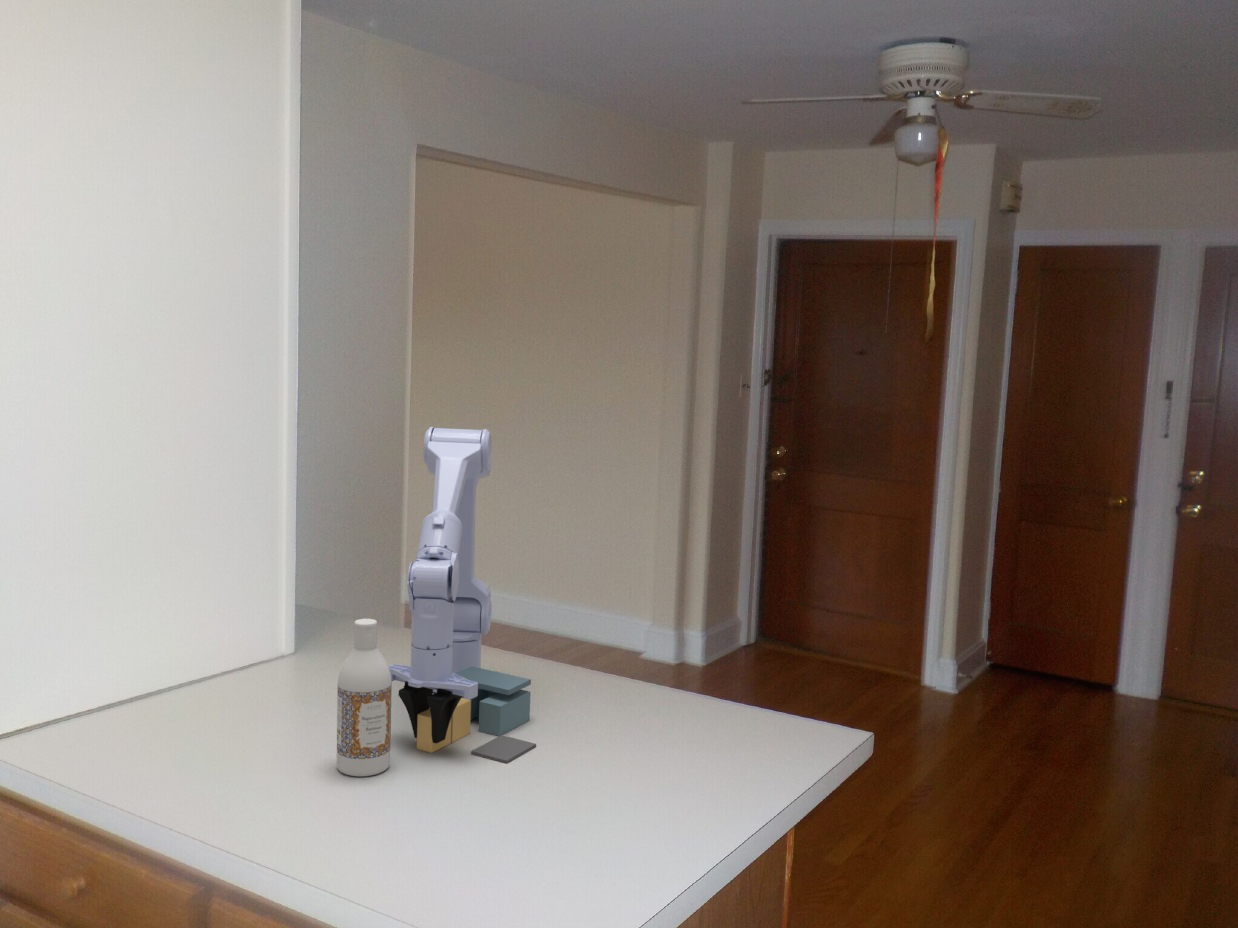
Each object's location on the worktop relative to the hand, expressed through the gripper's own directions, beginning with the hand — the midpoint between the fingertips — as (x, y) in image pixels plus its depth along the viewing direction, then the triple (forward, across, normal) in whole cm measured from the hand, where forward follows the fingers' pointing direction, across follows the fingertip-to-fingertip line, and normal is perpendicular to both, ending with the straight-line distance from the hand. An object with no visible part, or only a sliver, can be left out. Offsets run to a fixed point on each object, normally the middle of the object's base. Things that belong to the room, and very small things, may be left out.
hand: (429, 738), depth 153 cm
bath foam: (+2, -3, -10) cm, 11 cm away
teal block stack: (+1, 0, +13) cm, 13 cm away
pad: (+1, +9, +5) cm, 11 cm away
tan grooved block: (+1, 0, +3) cm, 4 cm away
